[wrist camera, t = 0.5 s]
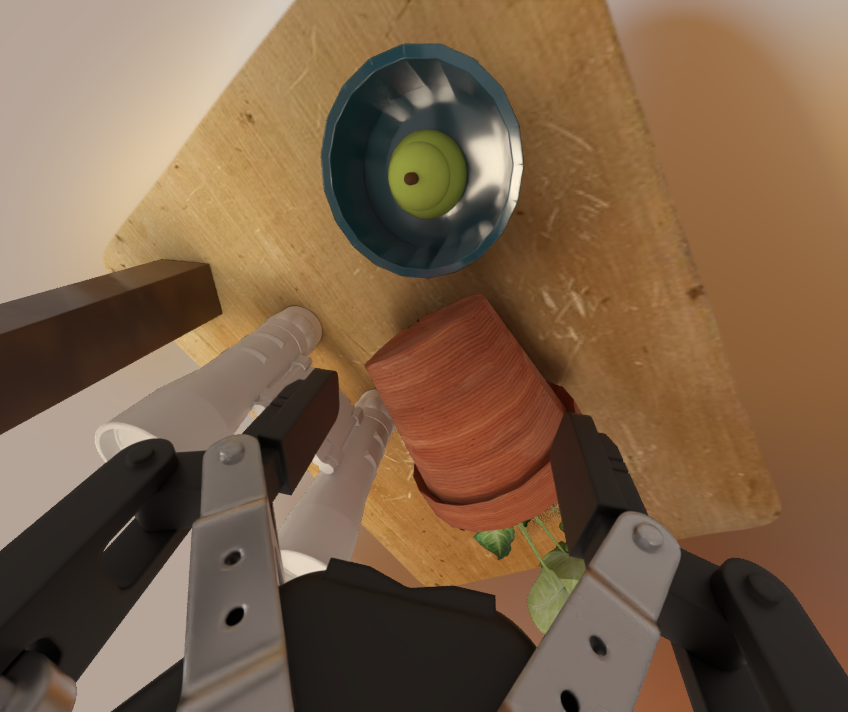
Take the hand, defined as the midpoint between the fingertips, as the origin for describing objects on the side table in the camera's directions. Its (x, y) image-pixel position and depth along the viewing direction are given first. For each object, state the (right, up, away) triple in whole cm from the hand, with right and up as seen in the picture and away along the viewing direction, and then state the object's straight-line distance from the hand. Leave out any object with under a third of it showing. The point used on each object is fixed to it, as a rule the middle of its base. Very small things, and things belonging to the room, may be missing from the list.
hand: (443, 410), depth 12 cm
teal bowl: (0, +15, +13) cm, 20 cm away
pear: (0, +15, +13) cm, 20 cm away
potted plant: (+9, -6, +24) cm, 26 cm away
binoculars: (-9, +1, +24) cm, 25 cm away
